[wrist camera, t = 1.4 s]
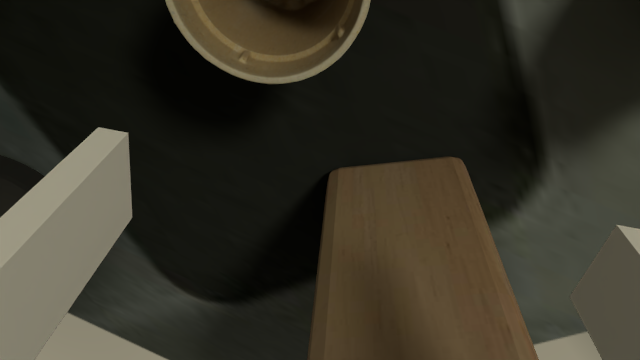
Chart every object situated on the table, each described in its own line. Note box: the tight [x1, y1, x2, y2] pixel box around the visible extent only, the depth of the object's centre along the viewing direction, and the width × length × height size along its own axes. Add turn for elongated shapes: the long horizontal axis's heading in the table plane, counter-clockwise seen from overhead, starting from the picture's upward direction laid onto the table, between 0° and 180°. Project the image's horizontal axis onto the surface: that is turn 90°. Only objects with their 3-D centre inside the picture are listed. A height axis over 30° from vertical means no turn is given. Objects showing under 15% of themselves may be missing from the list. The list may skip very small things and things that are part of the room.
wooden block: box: [307, 157, 539, 360], centre depth 28 cm, size 10×10×20 cm
